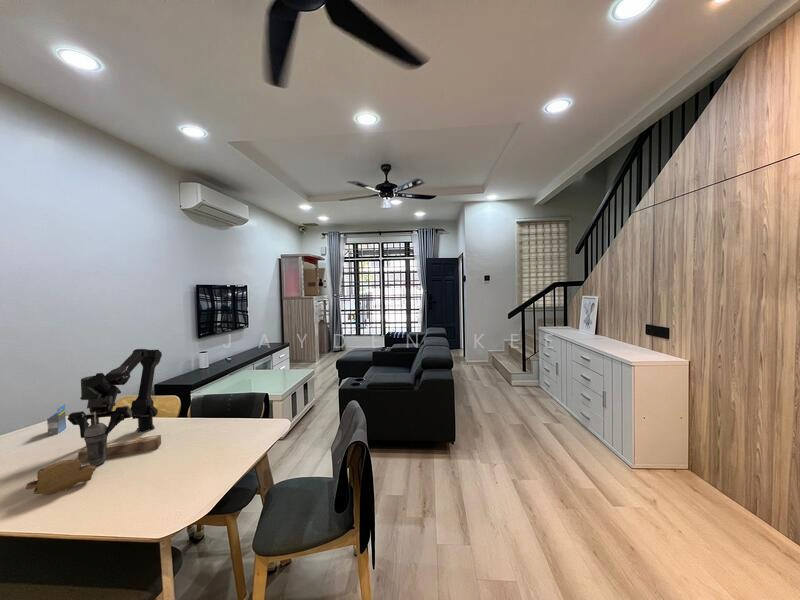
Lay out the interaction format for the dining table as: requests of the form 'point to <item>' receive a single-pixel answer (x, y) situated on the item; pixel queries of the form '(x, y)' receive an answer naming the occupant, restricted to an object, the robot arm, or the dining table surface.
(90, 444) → the beverage cup
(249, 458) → the dining table surface
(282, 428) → the dining table surface
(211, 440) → the dining table surface
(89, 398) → the stick grenade
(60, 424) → the label tape cartridge
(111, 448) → the slotted wooden bar
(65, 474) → the wooden carving
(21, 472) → the dining table surface
